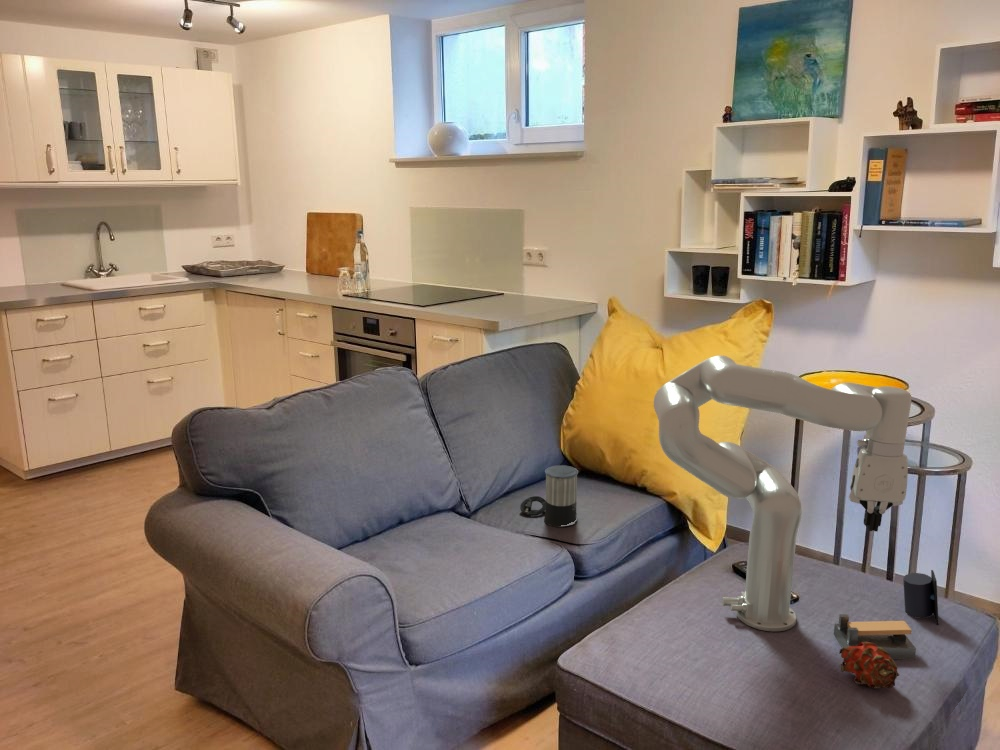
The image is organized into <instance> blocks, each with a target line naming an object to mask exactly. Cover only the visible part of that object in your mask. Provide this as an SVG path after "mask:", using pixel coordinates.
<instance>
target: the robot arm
mask: <svg viewBox="0 0 1000 750" xmlns="http://www.w3.org/2000/svg"><path fill="white" fill-rule="evenodd" d="M712 400H713V401H715V402H717V403H719V404H722V405H727V406H732V407H733V406H734V407H740V408H744V409H745V408H747V409H752V410H758V411H764V412H769V413H770V412H771V413H776V414H780V415H784V416H787V417H790V418H793V419H797V420H801V421H804V422H807V423H811V424H815V425H818V426H823V427H828V428H832V429H838V430H844V431H845V430H846V431H851V432H865V435H863V438H862V439H857V442H856V443H857V447H862V448H861V449H860V450H859V452H858V455H857V457H856V460H855V463H854V466H853V470H852V474H851V480H850V487H849V488H850V493H849V495H848V500H850V502H851V503H854V504H860V505H861V507H863V509H865V510H864V516H863V525H864V526H865V527H866V529H867V530H868V531H869V532H873V531H874V532H879V527H881V524H882V518H883V515H884V514H885V513H886V511H888V510H889V509H890V508H891V507H895V506H896V507H897V506H901V505H903V504H904V501H905V499H906V497H907V491H908V490H907V489H908V473H909V471H908V470H909V469H908V468H909V467H908V465H909V463H908V456H907V454H904V451H905V450H904V449H905V445H906V438H907V437H906V435H907V431H908V426H909V425H908V424H909V419H910V413H911V412H910V411H911V406H912V395H911V393H910V392H909V391H908V390H906V389H903V388H899V387H896V386H885V385H884V386H879V387H877V386H871V385H865V384H859V383H855V382H842V383H839V384H836V385H835V386H833V387H832V388H830V389H829V388H826V387H822V386H820V385H817V384H814V383H812V382H810V381H808V380H805V379H804V378H802V377H800V376H798V375H795V374H792V373H790V372H786V371H780V370H773V369H767V368H762V367H754V366H749V365H743V364H737V363H736V362H735V360H733V359H732V358H730V357H728V356H725V355H714V356H711V357H708V358H706V359H705V360H702V361H701V362H699V363H697V364H696V365H694V366H692V367H691V368H689V369H687V370H686V371H684V372H682V373H680V374H679V375H677V376H675V377H674V378H672V379H671V380H669V381H667V382H666V383H665V384H663V385H661V386H660V388H659V389H658V390H657V391H656V393H655V394H654V397H653V407H654V408H653V409H654V411H655V414H656V417H657V419H658V440H659V444H660V447H661V449H662V451H663V453H664V454H665V456H666V457H667V458H668V460H670V461H671V462H672V463H674V464H675V465H677V466H679V467H680V468H681V469H683V470H684V471H686V472H687V473H689V474H691V475H692V476H693V477H695V478H696V479H698V480H700V481H701V482H703V483H705V484H706V485H707V486H709V487H711V488H712V489H714V490H715V491H716V492H718V493H720V495H723V496H724V497H727V498H730V499H735V500H737V499H739V500H740V499H741V500H742V499H745V500H747V501H748V502H749V505H750V507H751V509H752V513H753V519H752V523H751V526H750V532H749V538H748V547H747V549H748V553H747V563H746V566H747V567H746V575H745V576H746V578H745V588H744V591H740V595H736V597H731V596H723V597H721V604H722V607H730V611H733V612H735V613H736V616H737V618H738V619H739V620H740V621H741V622H742V623H743V624H745V625H747V626H749V627H750V628H751V627H752V628H753V629H756V630H761V631H765V632H784V631H787V630H790V629H792V628H793V627H795V625H796V623H797V613H796V612H795V611H794V610H793V609H792V608H791V607H790V606H791V597H792V586H793V576H794V566H795V557H796V556H795V555H796V553H795V552H796V545H797V537H798V532H799V528H800V523H801V521H802V514H803V505H802V502H801V499H800V496H799V494H798V492H797V491H796V489H795V488H794V487H793V486H792V484H791V483H790V482H789V480H788V479H787V478H786V477H785V475H784V474H783V473H782V472H781V471H780V470H779V469H778V468H776V467H775V466H773V465H771V464H770V463H768V462H767V461H765V460H763V459H761V457H759V456H757V455H755V454H754V453H752V452H750V451H749V450H748V449H746V448H744V447H742V446H741V445H739V444H737V443H735V442H730V441H721V442H717V441H715V440H714V439H712V438H711V437H709V436H707V435H704V434H703V433H702V432H701V431H700V428H699V427H700V409H699V408H700V407H701V406H704V404H707V403H708V402H710V401H712ZM874 502H875V505H874Z"/></svg>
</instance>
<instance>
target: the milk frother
mask: <svg viewBox="0 0 1000 750" xmlns="http://www.w3.org/2000/svg"><path fill="white" fill-rule="evenodd" d="M544 473H545V499H544V498H543V497H541V496H537V495H533V496H530V497H527V498H525V499H524V500H522V502H521V503H520V506H519V507H520V511H521V513H523V514H524V515H526V516H533V517H536V516H539V515H542V514H543V513H544V517H543V521H544V523H545V524H547V525H549V526H551V527H555V526H561V525H567V524H569V523H571V522H574V521H575V520H576V518H578V517H577V515H578V513H577V494H578V489H577V488H578V484H577V483H578V474H579V470H578V469H577V468H576V467H573V466H569V465H565V464H564V465H563V464H562V465H561V464H560V465H556V464H555V465H551V466H548V467H547V468H545V470H544ZM534 502H538V503H540V504H541V506H542V507H541V508H540V509H538V510H534V511H532V505H533V503H534ZM552 525H553V526H552Z"/></svg>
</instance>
